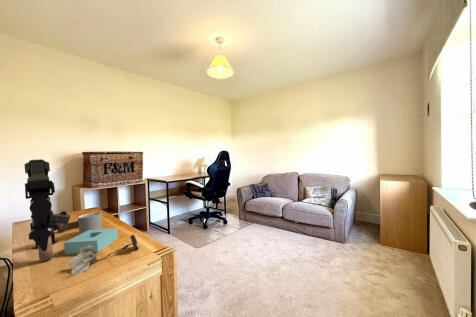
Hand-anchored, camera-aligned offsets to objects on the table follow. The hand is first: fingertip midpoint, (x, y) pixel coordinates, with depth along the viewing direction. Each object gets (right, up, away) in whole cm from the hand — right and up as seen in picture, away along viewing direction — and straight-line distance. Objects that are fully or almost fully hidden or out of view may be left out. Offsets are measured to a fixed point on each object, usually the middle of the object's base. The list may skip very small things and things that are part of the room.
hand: (45, 248), depth 81 cm
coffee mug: (-3, -4, +28) cm, 29 cm away
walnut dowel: (0, -4, 0) cm, 4 cm away
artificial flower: (+27, -3, -3) cm, 27 cm away
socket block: (+11, -4, +11) cm, 16 cm away
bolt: (-19, -5, +38) cm, 42 cm away
